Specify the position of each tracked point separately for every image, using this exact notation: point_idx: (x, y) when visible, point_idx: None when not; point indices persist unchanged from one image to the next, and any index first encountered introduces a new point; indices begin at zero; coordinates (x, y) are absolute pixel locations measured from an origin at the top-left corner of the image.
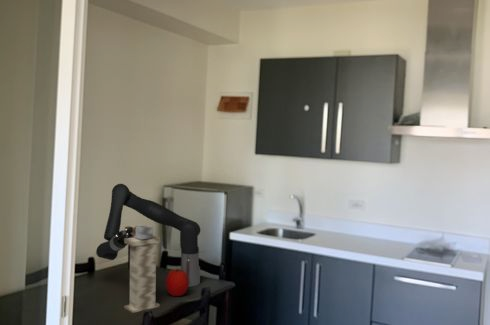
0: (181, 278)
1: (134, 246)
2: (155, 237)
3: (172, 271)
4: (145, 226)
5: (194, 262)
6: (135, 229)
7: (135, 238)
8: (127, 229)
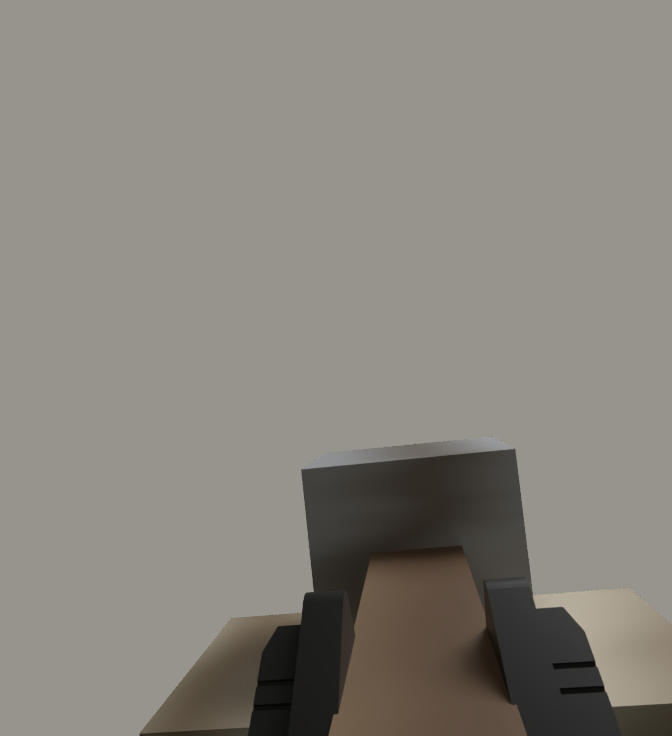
0: None
1: None
2: (244, 642)
3: None
4: (378, 455)
5: None
6: (424, 617)
7: None
8: (608, 698)
